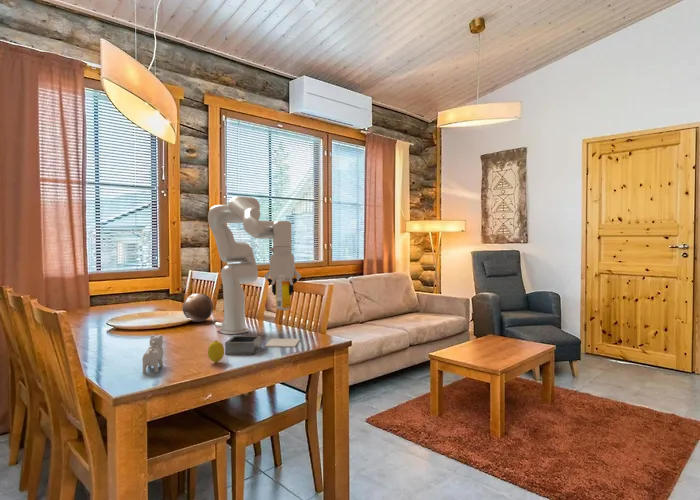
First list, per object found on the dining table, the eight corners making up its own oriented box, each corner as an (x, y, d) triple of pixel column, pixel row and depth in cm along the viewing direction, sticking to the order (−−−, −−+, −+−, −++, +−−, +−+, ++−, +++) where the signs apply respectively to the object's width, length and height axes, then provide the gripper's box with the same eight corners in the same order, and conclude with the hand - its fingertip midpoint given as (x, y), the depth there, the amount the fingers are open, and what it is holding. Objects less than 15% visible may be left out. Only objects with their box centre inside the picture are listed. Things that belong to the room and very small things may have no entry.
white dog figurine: (166, 362, 157) (166, 332, 157) (158, 373, 145) (157, 341, 145) (150, 363, 156) (149, 333, 156) (140, 374, 144) (140, 341, 144)
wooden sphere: (176, 323, 227) (176, 294, 226) (195, 318, 241) (194, 291, 241) (202, 325, 223) (201, 295, 222) (219, 320, 237) (218, 291, 236)
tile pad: (265, 347, 179) (265, 345, 179) (271, 340, 191) (271, 338, 191) (294, 347, 178) (294, 345, 178) (299, 340, 190) (299, 338, 190)
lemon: (209, 361, 159) (209, 338, 159) (225, 360, 159) (225, 338, 159) (206, 365, 154) (205, 342, 153) (222, 365, 154) (222, 342, 154)
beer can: (293, 308, 186) (292, 272, 186) (286, 310, 180) (286, 273, 180) (280, 307, 188) (279, 272, 188) (273, 309, 182) (272, 273, 182)
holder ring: (225, 354, 168) (225, 342, 168) (234, 347, 179) (233, 335, 179) (254, 354, 168) (254, 342, 167) (261, 347, 179) (261, 336, 178)
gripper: (259, 251, 180) (260, 295, 181) (301, 251, 179) (302, 295, 180) (263, 250, 188) (264, 293, 188) (304, 250, 187) (305, 293, 187)
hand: (282, 294), depth 184 cm, fingers closed on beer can, 5 cm apart
